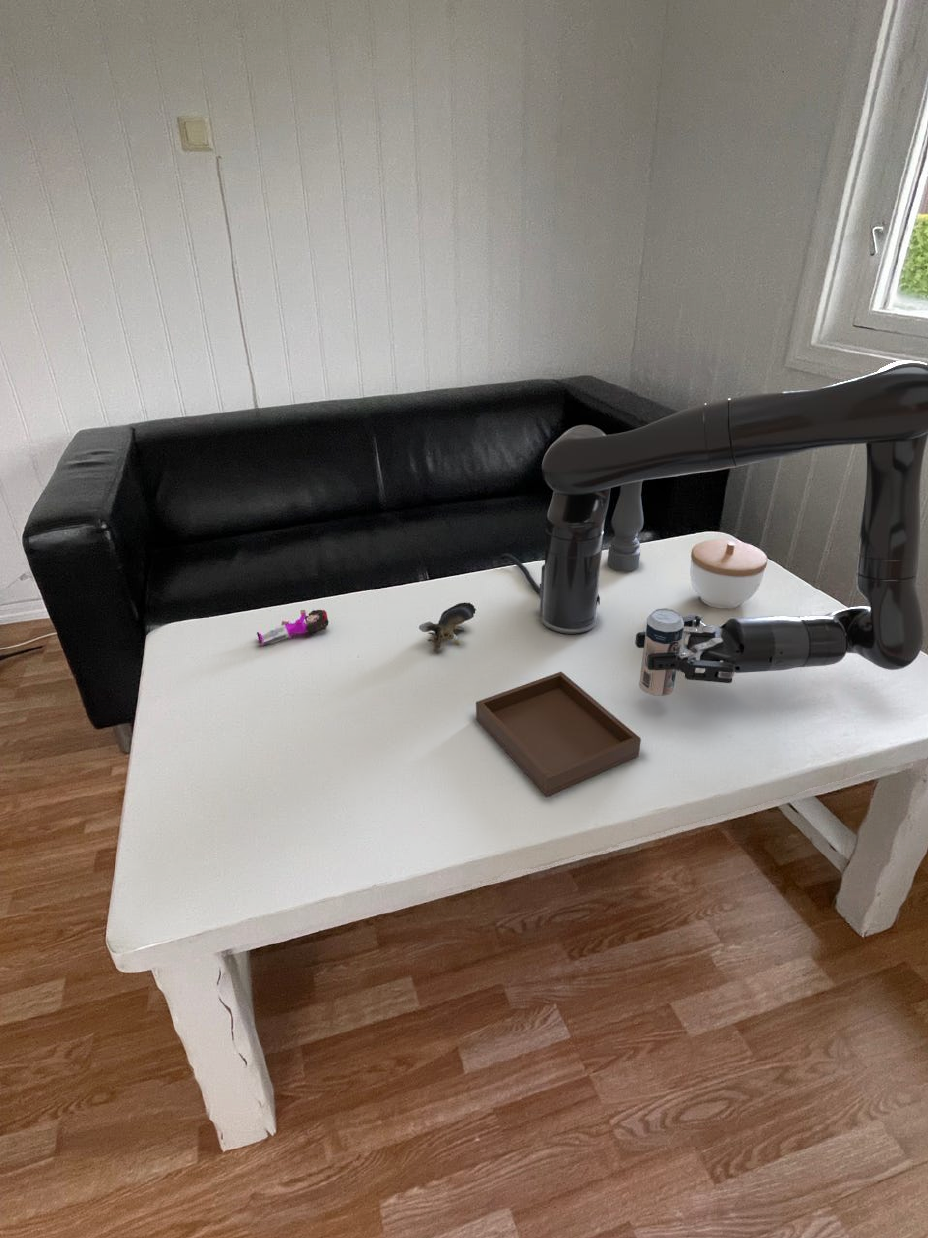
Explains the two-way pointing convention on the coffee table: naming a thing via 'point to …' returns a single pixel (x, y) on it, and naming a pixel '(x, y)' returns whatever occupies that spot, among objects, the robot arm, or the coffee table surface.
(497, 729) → the tray
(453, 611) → the brown irregular figure
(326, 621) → the character figurine
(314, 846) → the coffee table surface
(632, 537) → the candle holder
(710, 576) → the lidded bowl
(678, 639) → the beer can
